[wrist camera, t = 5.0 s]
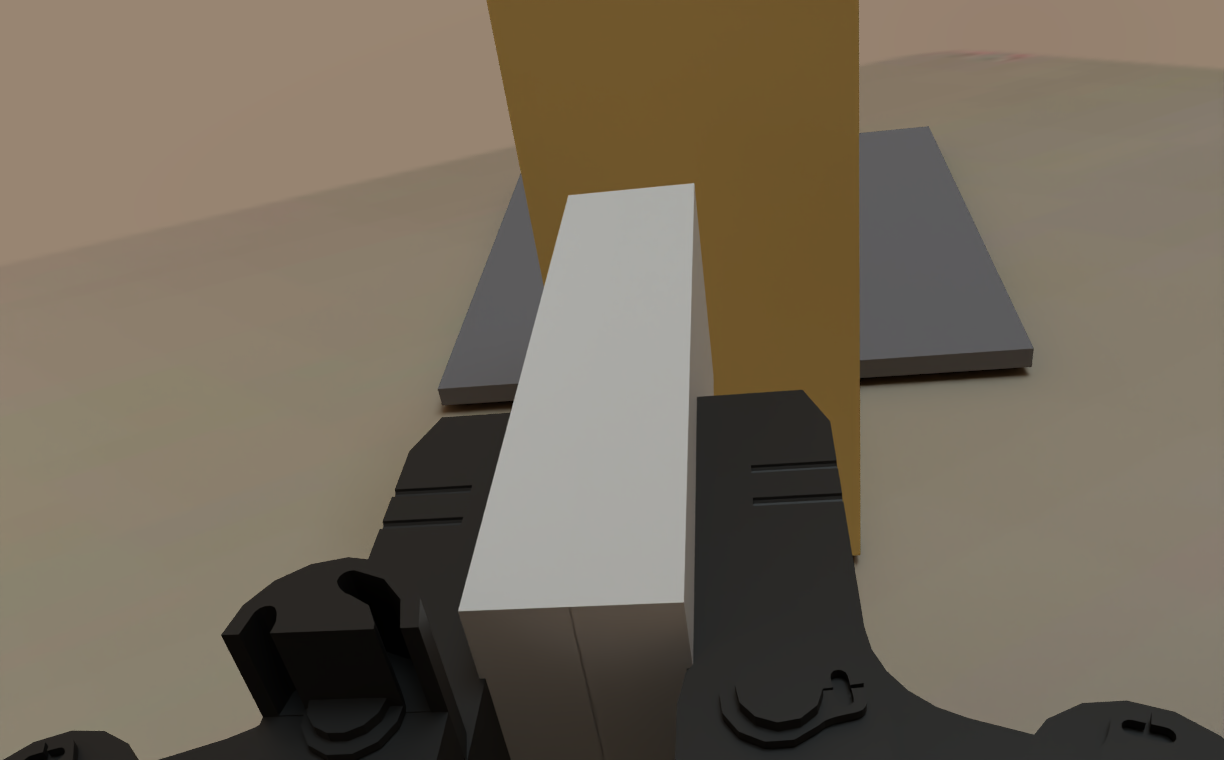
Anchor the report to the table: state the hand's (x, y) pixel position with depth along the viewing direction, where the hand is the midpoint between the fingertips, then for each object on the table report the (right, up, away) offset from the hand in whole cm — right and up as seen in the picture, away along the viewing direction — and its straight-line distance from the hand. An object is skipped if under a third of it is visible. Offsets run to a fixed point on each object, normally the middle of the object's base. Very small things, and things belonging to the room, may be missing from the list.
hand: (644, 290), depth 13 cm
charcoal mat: (+3, +3, +17) cm, 18 cm away
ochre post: (+2, -3, +9) cm, 10 cm away
